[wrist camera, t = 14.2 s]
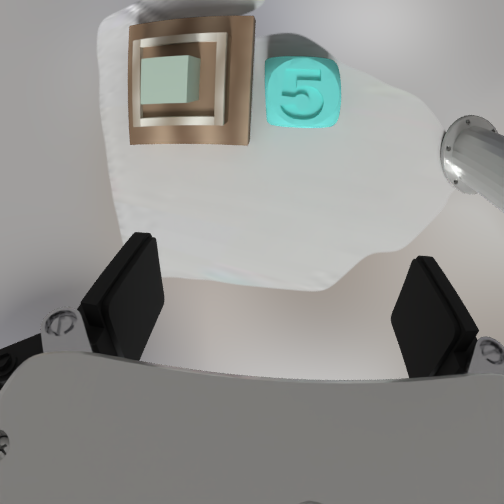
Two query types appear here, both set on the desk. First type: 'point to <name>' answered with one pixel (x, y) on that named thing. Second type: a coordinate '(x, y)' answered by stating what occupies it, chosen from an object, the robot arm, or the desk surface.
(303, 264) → the desk surface
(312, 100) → the decorative dice
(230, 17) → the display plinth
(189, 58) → the sage block
